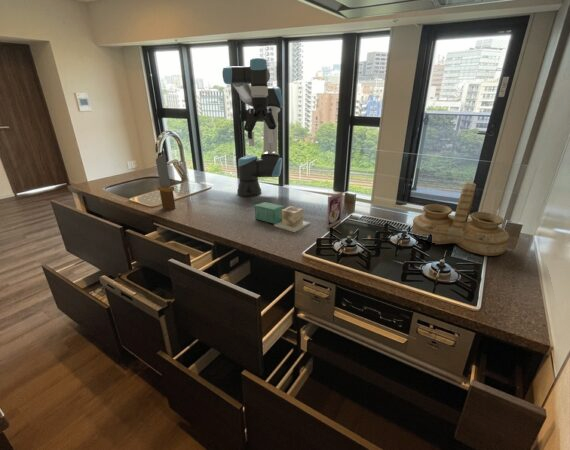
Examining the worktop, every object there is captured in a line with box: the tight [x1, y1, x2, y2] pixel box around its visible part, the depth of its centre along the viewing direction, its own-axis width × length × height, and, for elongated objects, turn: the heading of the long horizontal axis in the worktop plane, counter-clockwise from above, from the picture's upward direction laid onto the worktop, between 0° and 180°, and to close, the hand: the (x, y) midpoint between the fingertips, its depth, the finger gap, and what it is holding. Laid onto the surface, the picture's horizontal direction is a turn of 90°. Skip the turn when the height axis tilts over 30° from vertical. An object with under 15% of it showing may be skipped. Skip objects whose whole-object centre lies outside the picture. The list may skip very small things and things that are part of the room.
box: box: [254, 201, 285, 225], centre depth 144 cm, size 7×14×8 cm, turn 50°
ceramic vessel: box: [411, 181, 510, 257], centre depth 117 cm, size 34×18×25 cm, turn 55°
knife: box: [155, 153, 176, 211], centre depth 158 cm, size 8×4×30 cm, turn 62°
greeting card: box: [326, 190, 344, 229], centre depth 139 cm, size 11×7×15 cm, turn 137°
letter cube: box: [282, 205, 304, 227], centre depth 138 cm, size 7×7×7 cm
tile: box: [273, 220, 311, 233], centre depth 140 cm, size 12×12×1 cm
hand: (261, 144), depth 144 cm, fingers open, 13 cm apart
